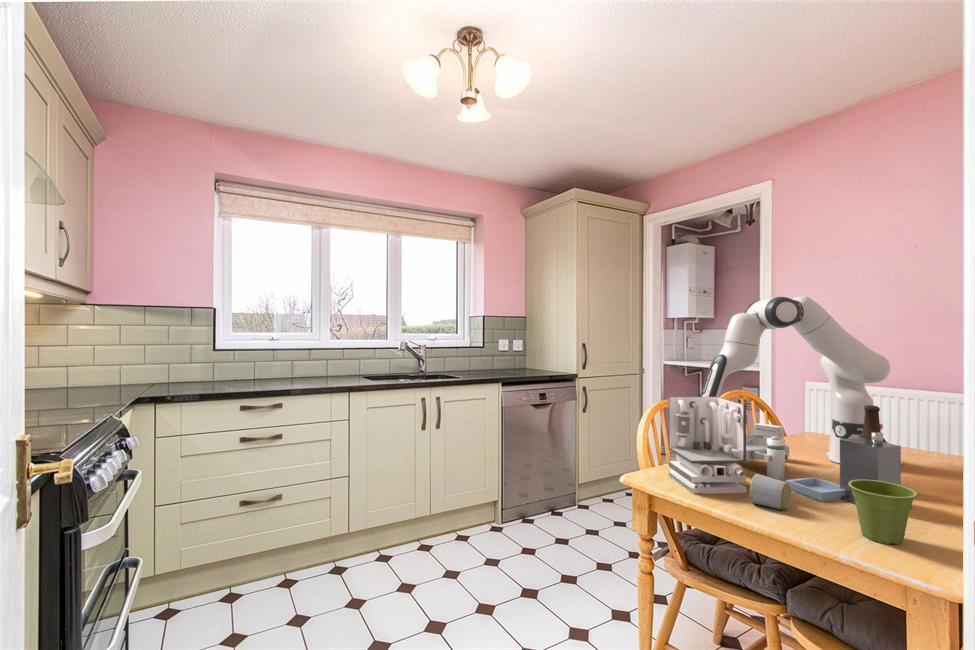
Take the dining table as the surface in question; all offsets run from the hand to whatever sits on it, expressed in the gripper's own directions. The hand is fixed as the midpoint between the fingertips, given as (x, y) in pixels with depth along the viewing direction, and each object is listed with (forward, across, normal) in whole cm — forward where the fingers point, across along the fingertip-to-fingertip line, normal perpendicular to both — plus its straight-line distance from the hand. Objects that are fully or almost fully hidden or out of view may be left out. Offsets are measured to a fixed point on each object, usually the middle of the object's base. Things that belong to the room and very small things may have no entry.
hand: (778, 457), depth 148 cm
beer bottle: (+14, +19, +7) cm, 25 cm away
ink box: (-20, +17, +7) cm, 27 cm away
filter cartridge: (-1, 0, +7) cm, 7 cm away
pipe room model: (-2, -25, +7) cm, 26 cm away
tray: (+13, 0, +7) cm, 15 cm away
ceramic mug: (+16, -20, +7) cm, 27 cm away
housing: (+22, +7, +7) cm, 24 cm away
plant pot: (+39, -13, +7) cm, 42 cm away
